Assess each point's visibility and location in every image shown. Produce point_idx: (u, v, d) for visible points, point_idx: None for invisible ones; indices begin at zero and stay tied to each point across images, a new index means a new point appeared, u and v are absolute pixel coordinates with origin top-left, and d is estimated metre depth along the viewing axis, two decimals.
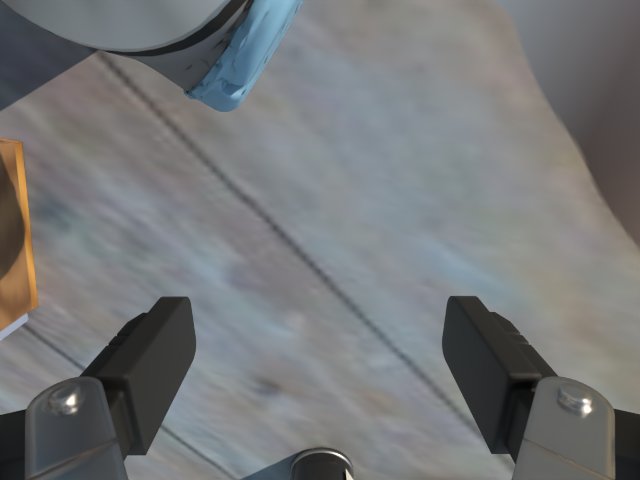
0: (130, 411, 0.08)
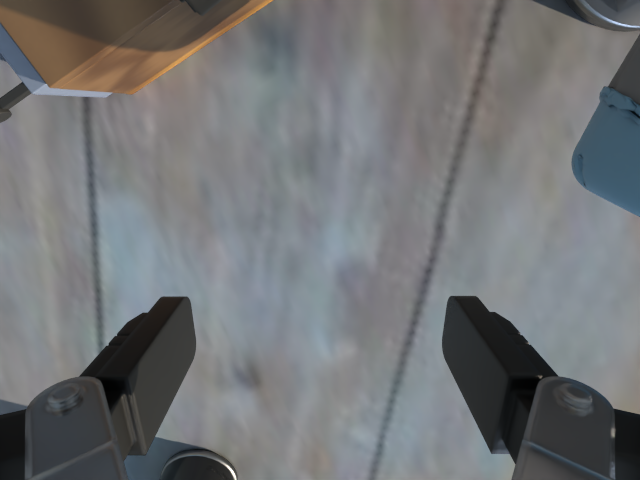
0: (130, 411, 0.08)
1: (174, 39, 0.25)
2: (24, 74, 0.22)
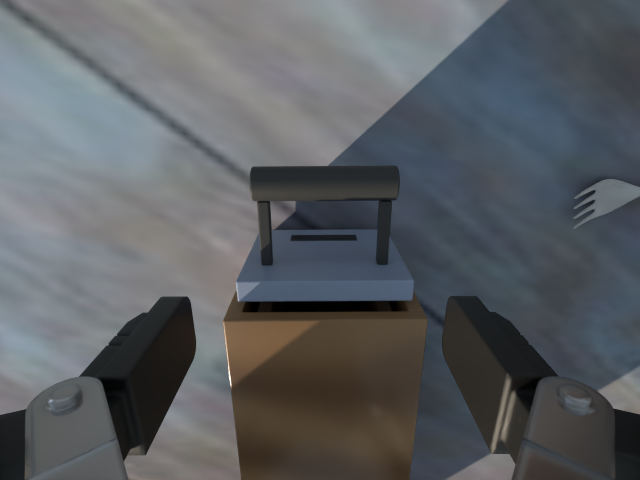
0: (130, 411, 0.08)
1: None
2: (256, 289, 0.18)
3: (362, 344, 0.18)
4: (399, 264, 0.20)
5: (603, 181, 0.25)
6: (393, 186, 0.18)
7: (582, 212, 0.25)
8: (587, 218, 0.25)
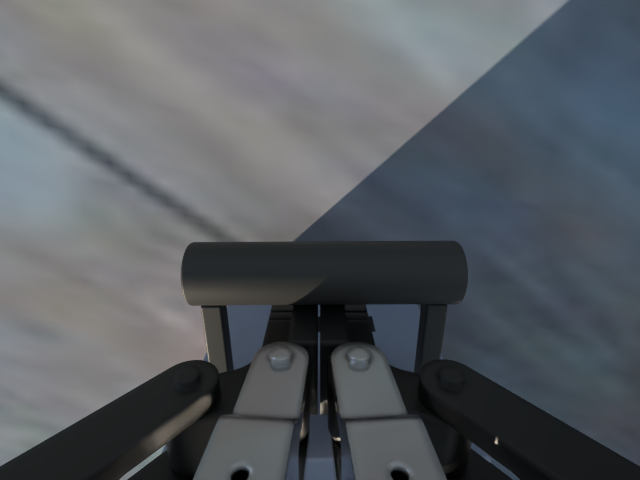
0: (313, 374, 0.09)
1: None
2: None
3: None
4: None
5: None
6: (456, 286, 0.09)
7: None
8: None
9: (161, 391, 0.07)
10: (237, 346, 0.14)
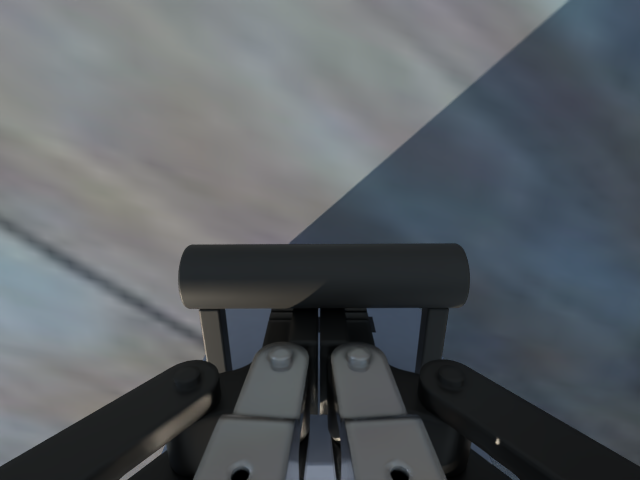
0: (313, 374, 0.09)
1: None
2: None
3: None
4: None
5: None
6: (458, 290, 0.09)
7: None
8: None
9: (161, 391, 0.07)
10: (236, 347, 0.14)
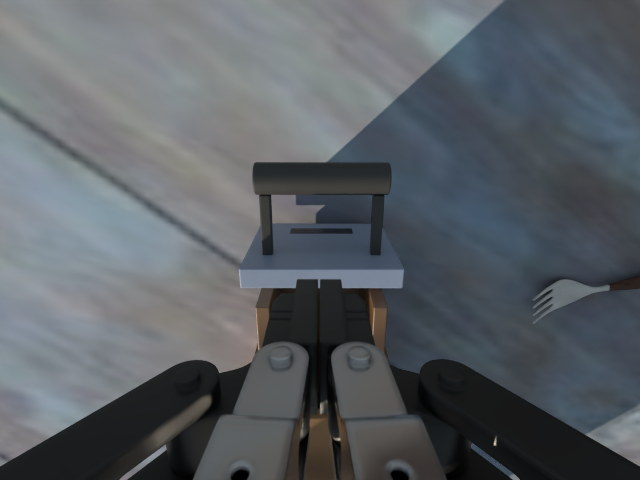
0: (313, 373, 0.09)
1: None
2: (258, 276, 0.20)
3: None
4: (391, 255, 0.21)
5: (559, 281, 0.29)
6: (385, 181, 0.19)
7: (540, 309, 0.29)
8: (545, 312, 0.30)
9: (161, 391, 0.07)
10: None
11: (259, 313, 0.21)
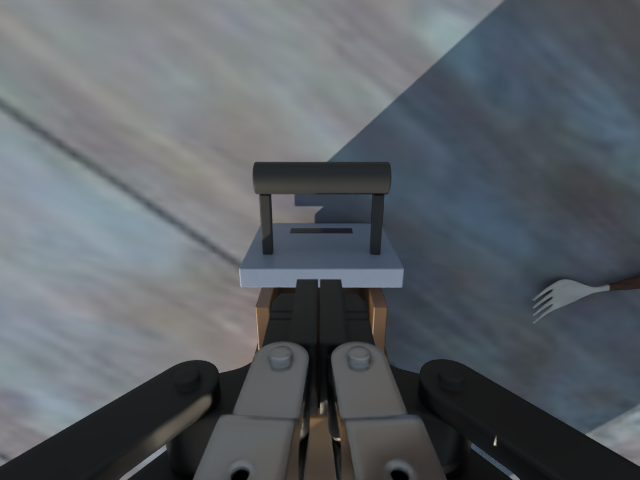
0: (313, 373, 0.09)
1: None
2: (258, 275, 0.20)
3: None
4: (391, 254, 0.21)
5: (559, 281, 0.29)
6: (385, 181, 0.19)
7: (540, 309, 0.29)
8: (545, 312, 0.30)
9: (161, 391, 0.07)
10: None
11: (259, 312, 0.21)
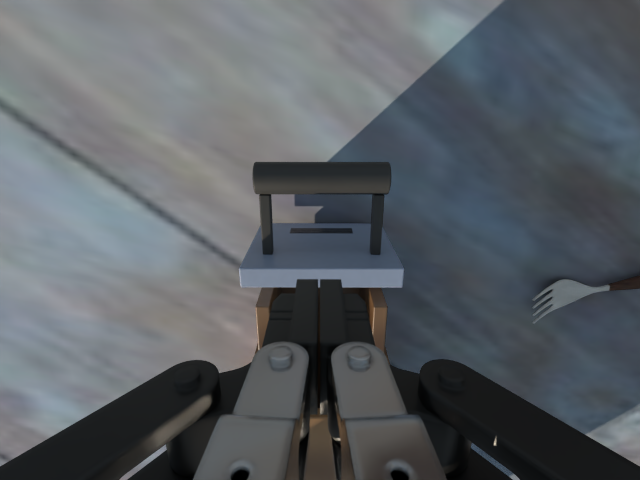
0: (313, 373, 0.09)
1: None
2: (258, 275, 0.20)
3: None
4: (391, 254, 0.21)
5: (559, 281, 0.29)
6: (385, 181, 0.19)
7: (540, 309, 0.29)
8: (545, 312, 0.30)
9: (161, 391, 0.07)
10: None
11: (259, 312, 0.21)
